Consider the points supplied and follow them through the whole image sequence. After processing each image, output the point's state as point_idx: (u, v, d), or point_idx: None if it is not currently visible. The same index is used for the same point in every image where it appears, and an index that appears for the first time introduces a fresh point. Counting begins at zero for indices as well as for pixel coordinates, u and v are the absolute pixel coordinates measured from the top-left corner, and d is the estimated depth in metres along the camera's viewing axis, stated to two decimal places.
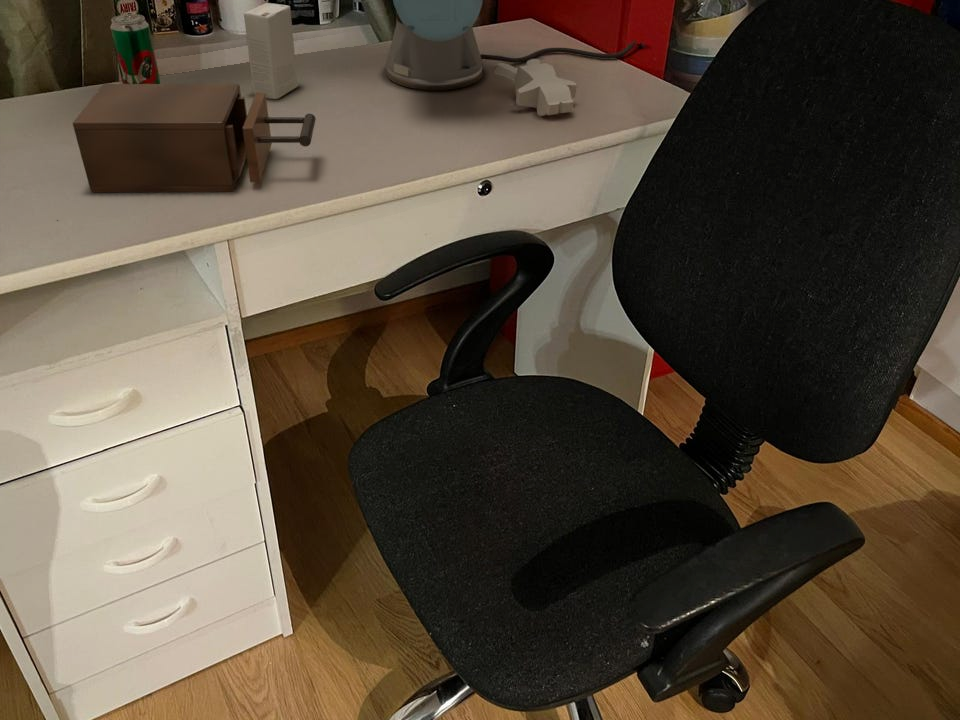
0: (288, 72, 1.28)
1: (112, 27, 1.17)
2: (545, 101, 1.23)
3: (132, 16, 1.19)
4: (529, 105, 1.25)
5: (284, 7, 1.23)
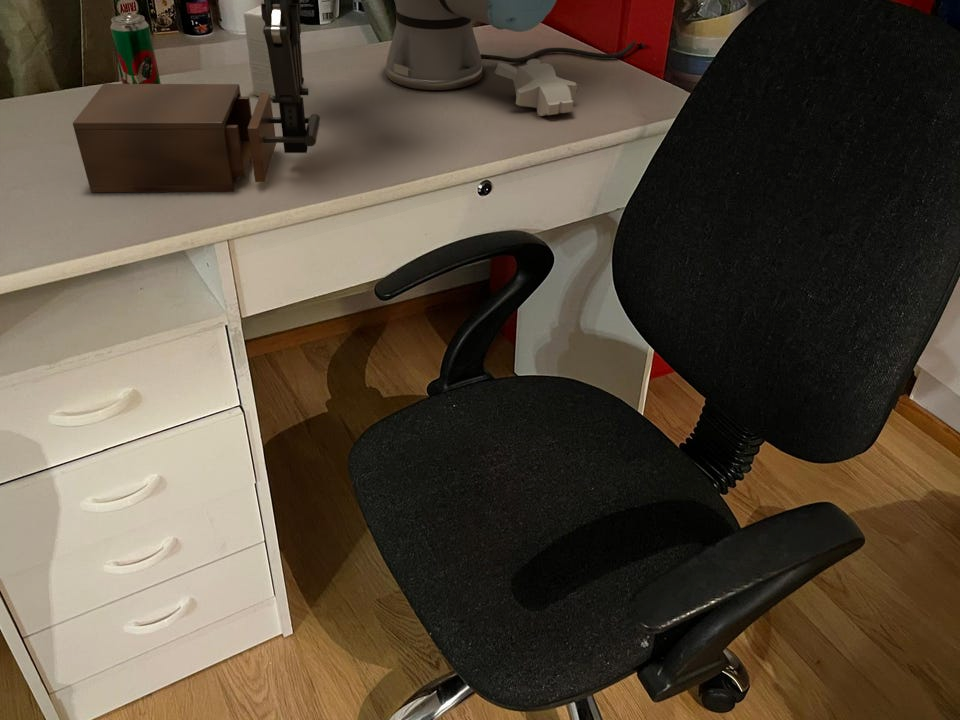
0: None
1: (112, 27, 1.17)
2: (545, 101, 1.23)
3: (132, 16, 1.19)
4: (529, 105, 1.25)
5: None
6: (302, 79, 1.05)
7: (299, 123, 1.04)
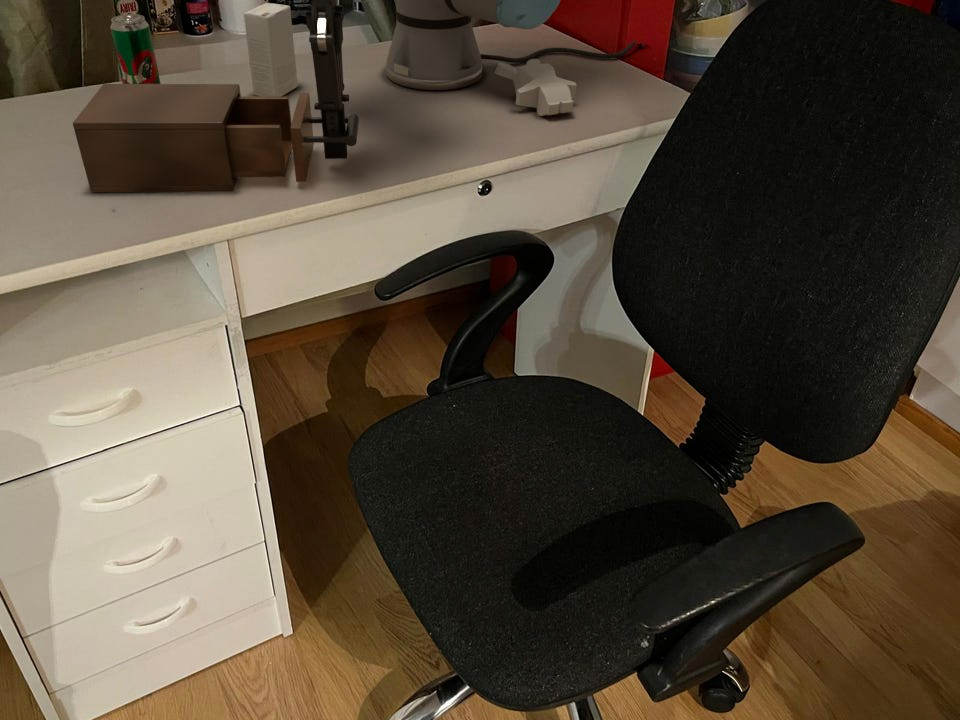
0: (288, 72, 1.28)
1: (112, 27, 1.17)
2: (545, 101, 1.23)
3: (132, 16, 1.19)
4: (529, 105, 1.25)
5: (284, 7, 1.23)
6: (343, 86, 1.06)
7: (340, 129, 1.05)
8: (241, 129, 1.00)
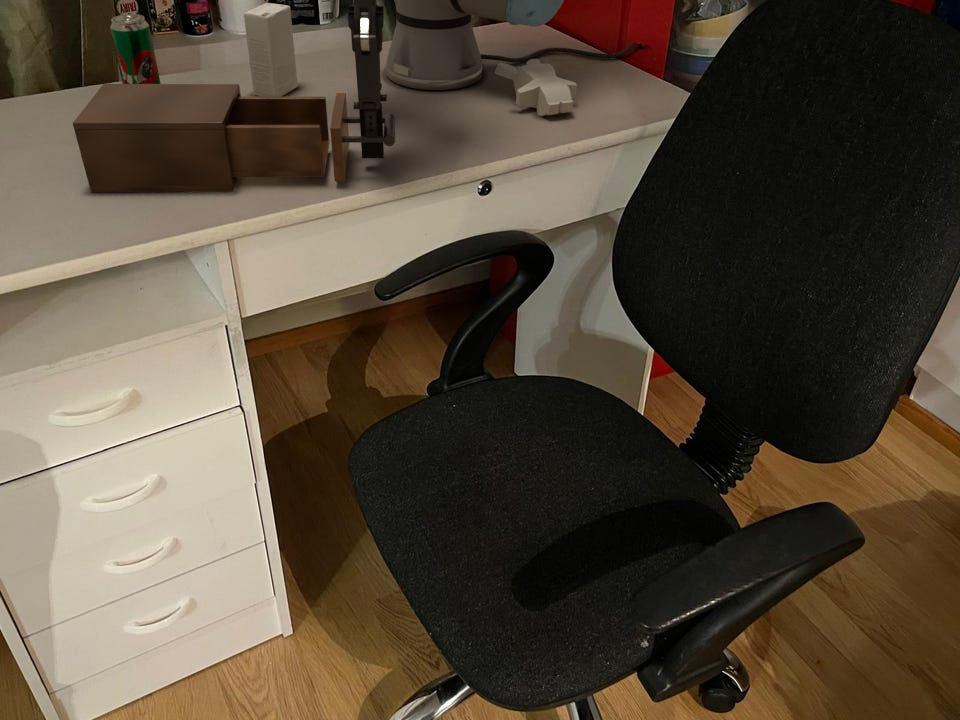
0: (288, 72, 1.28)
1: (112, 27, 1.17)
2: (545, 101, 1.23)
3: (132, 16, 1.19)
4: (529, 105, 1.25)
5: (284, 7, 1.23)
6: (380, 85, 1.06)
7: (378, 129, 1.06)
8: (281, 129, 1.00)
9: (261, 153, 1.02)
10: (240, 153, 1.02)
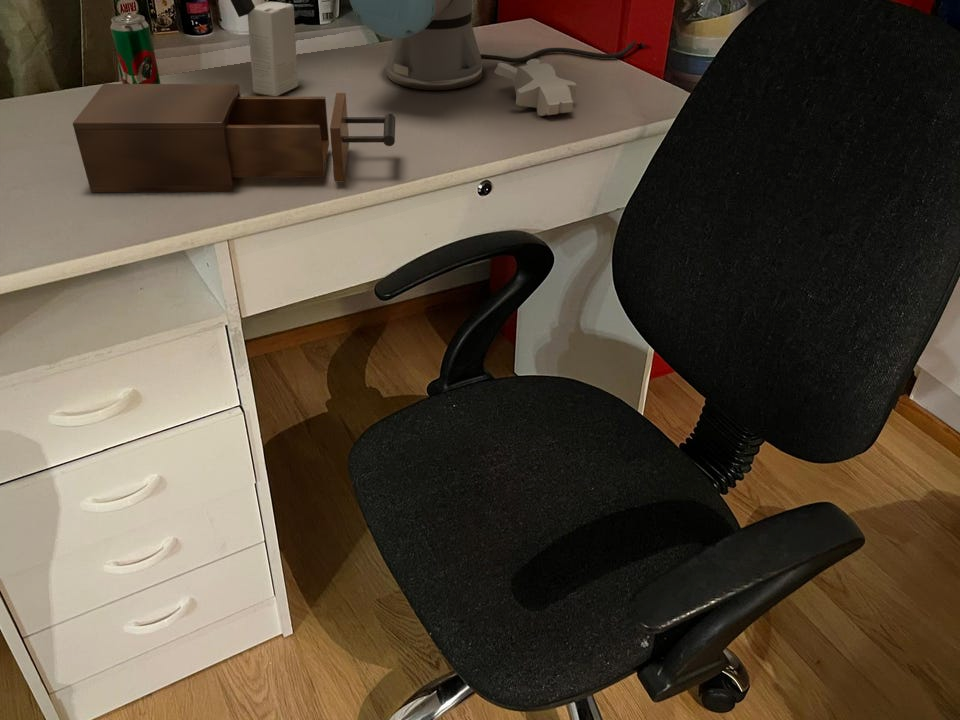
0: (289, 70, 1.28)
1: (112, 27, 1.17)
2: (545, 101, 1.23)
3: (132, 16, 1.19)
4: (529, 105, 1.25)
5: (287, 5, 1.24)
6: None
7: None
8: (281, 129, 1.00)
9: (261, 153, 1.02)
10: (240, 153, 1.02)
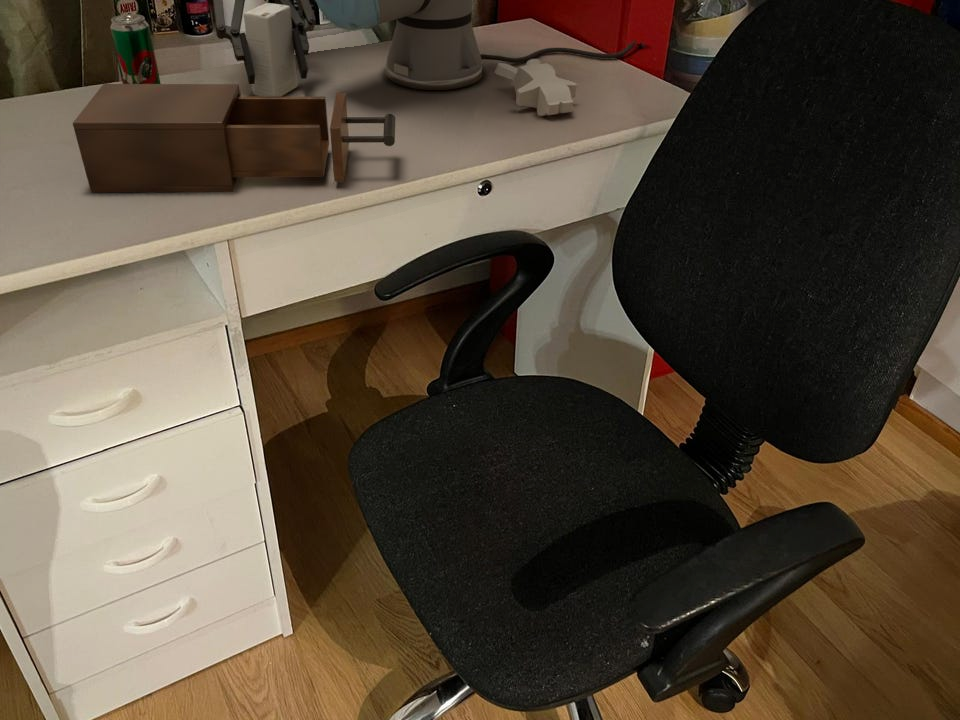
0: (288, 72, 1.28)
1: (112, 27, 1.17)
2: (545, 101, 1.23)
3: (132, 16, 1.19)
4: (529, 105, 1.25)
5: (284, 7, 1.23)
6: (309, 18, 1.27)
7: (243, 52, 1.23)
8: (281, 129, 1.00)
9: (261, 153, 1.02)
10: (240, 153, 1.02)
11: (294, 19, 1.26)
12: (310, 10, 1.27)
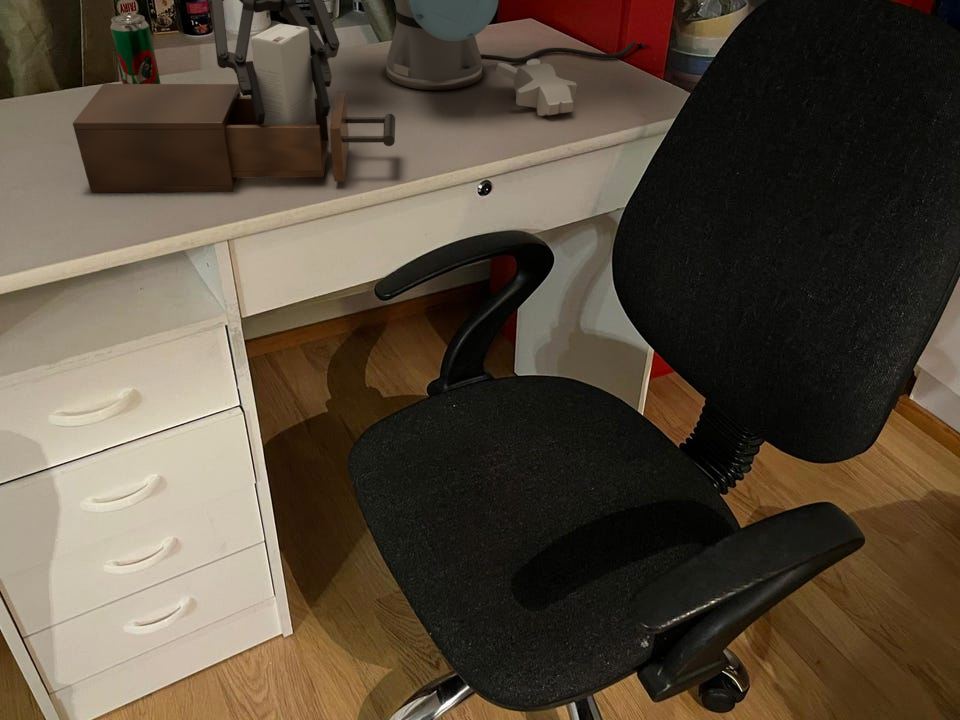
0: (306, 108, 1.04)
1: (112, 27, 1.17)
2: (545, 101, 1.23)
3: (132, 16, 1.19)
4: (529, 105, 1.25)
5: (301, 29, 0.99)
6: (331, 43, 1.03)
7: (250, 85, 0.99)
8: (281, 129, 1.00)
9: (261, 153, 1.02)
10: (240, 153, 1.02)
11: (313, 44, 1.02)
12: (333, 32, 1.03)
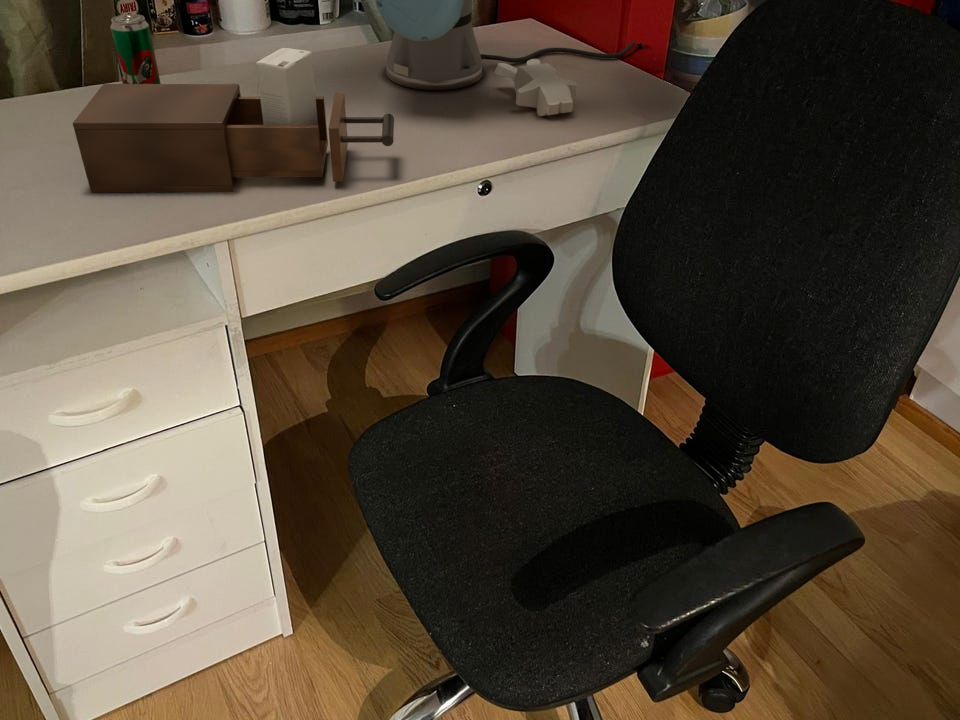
0: None
1: (112, 27, 1.17)
2: (545, 101, 1.23)
3: (132, 16, 1.19)
4: (529, 105, 1.25)
5: (305, 53, 1.01)
6: None
7: None
8: (279, 129, 1.00)
9: (259, 153, 1.02)
10: (239, 153, 1.02)
11: None
12: None
